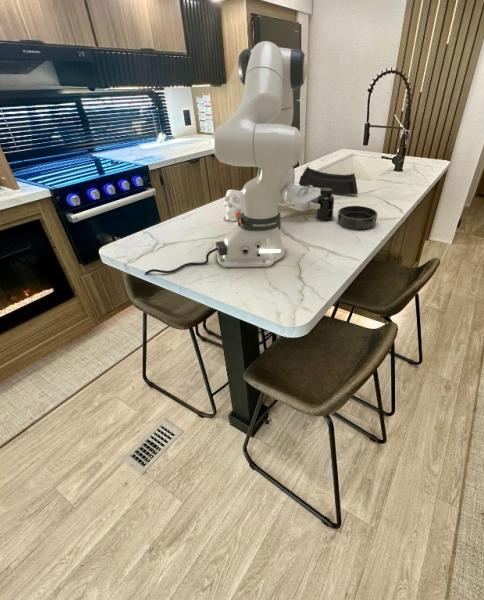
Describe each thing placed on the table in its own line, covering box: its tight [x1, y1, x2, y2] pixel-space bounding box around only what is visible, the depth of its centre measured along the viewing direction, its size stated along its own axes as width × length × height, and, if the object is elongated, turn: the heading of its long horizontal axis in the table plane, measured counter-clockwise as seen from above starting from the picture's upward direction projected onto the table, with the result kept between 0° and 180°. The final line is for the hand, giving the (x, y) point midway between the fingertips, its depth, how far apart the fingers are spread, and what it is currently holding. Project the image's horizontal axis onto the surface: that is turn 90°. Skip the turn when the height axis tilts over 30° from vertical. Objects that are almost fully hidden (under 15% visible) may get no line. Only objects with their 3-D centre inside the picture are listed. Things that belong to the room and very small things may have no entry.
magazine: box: [298, 166, 359, 195], centre depth 161 cm, size 17×3×30 cm
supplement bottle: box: [316, 188, 335, 222], centre depth 132 cm, size 7×7×12 cm
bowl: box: [337, 205, 379, 230], centre depth 130 cm, size 15×15×4 cm
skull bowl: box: [223, 189, 244, 222], centre depth 137 cm, size 10×14×12 cm
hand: (326, 203), depth 131 cm, fingers open, 8 cm apart
